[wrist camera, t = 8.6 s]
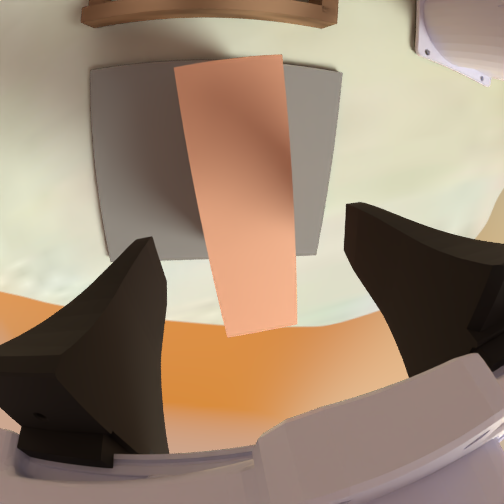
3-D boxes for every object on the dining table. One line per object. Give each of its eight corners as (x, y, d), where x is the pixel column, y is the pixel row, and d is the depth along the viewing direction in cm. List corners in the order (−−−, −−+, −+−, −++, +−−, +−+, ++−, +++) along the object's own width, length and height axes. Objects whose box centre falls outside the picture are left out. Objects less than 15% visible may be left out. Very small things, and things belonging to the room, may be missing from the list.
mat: (339, 72, 17) (342, 72, 17) (314, 251, 24) (316, 255, 24) (92, 70, 15) (90, 70, 14) (112, 258, 22) (110, 262, 22)
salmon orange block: (245, 66, 16) (281, 54, 8) (263, 236, 22) (297, 324, 15) (187, 74, 16) (173, 67, 8) (216, 244, 22) (227, 337, 15)
